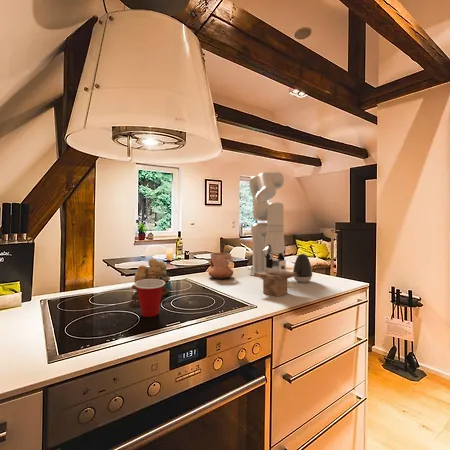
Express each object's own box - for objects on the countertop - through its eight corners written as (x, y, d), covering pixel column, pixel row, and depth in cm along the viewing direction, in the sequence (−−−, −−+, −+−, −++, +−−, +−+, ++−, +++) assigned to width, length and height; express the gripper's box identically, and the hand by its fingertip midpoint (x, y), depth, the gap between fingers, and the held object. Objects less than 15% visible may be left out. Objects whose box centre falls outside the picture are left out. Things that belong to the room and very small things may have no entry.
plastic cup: (137, 322, 96) (137, 286, 96) (132, 312, 106) (131, 280, 106) (169, 316, 101) (168, 283, 101) (161, 308, 111) (160, 277, 111)
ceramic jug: (239, 278, 164) (239, 253, 164) (219, 281, 155) (218, 255, 155) (221, 274, 178) (221, 251, 178) (201, 276, 170) (201, 253, 170)
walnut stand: (254, 293, 131) (254, 273, 131) (271, 287, 142) (271, 268, 141) (280, 299, 122) (280, 277, 122) (296, 292, 132) (296, 272, 132)
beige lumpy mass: (163, 289, 140) (163, 255, 139) (176, 294, 131) (176, 257, 130) (127, 296, 128) (127, 258, 128) (138, 302, 119) (138, 261, 119)
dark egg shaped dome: (310, 279, 160) (310, 252, 159) (314, 284, 149) (314, 255, 149) (291, 279, 161) (291, 252, 160) (294, 283, 150) (294, 255, 150)
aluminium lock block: (265, 272, 133) (265, 259, 132) (271, 270, 136) (271, 258, 136) (281, 274, 127) (281, 261, 126) (286, 273, 130) (286, 260, 130)
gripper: (278, 228, 140) (278, 263, 140) (257, 229, 127) (257, 267, 128) (292, 228, 135) (292, 264, 135) (271, 230, 122) (271, 270, 123)
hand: (275, 266), depth 131 cm, fingers open, 9 cm apart
